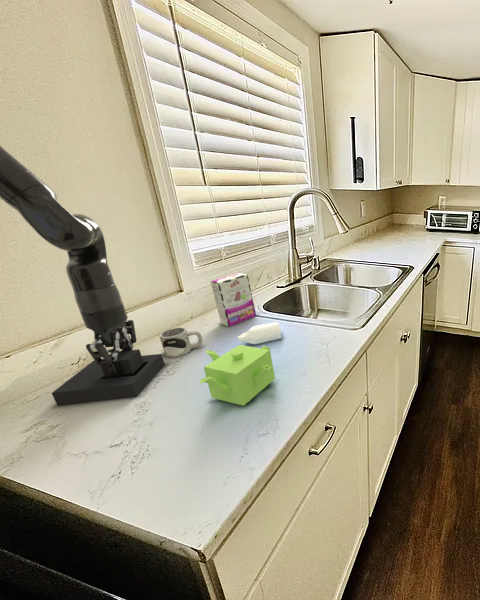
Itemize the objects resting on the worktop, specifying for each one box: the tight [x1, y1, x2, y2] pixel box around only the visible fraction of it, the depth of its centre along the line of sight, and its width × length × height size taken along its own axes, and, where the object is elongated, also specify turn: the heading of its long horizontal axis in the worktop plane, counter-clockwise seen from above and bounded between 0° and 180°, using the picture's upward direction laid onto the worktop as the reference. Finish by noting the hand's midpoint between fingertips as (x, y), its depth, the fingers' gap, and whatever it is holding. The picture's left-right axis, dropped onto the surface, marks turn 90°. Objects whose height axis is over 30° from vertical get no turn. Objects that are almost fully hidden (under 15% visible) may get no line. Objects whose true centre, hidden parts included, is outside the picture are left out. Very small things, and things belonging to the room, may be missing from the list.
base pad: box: [51, 353, 166, 407], centre depth 81 cm, size 16×14×4 cm
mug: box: [158, 326, 204, 358], centre depth 96 cm, size 10×7×7 cm
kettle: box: [198, 344, 276, 407], centre depth 76 cm, size 15×14×11 cm
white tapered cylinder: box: [236, 321, 282, 345], centre depth 101 cm, size 6×12×6 cm, turn 121°
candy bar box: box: [210, 272, 257, 328], centre depth 114 cm, size 11×5×16 cm, turn 150°
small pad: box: [101, 349, 144, 377], centre depth 80 cm, size 6×5×4 cm
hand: (124, 368), depth 80 cm, fingers closed on small pad, 5 cm apart
